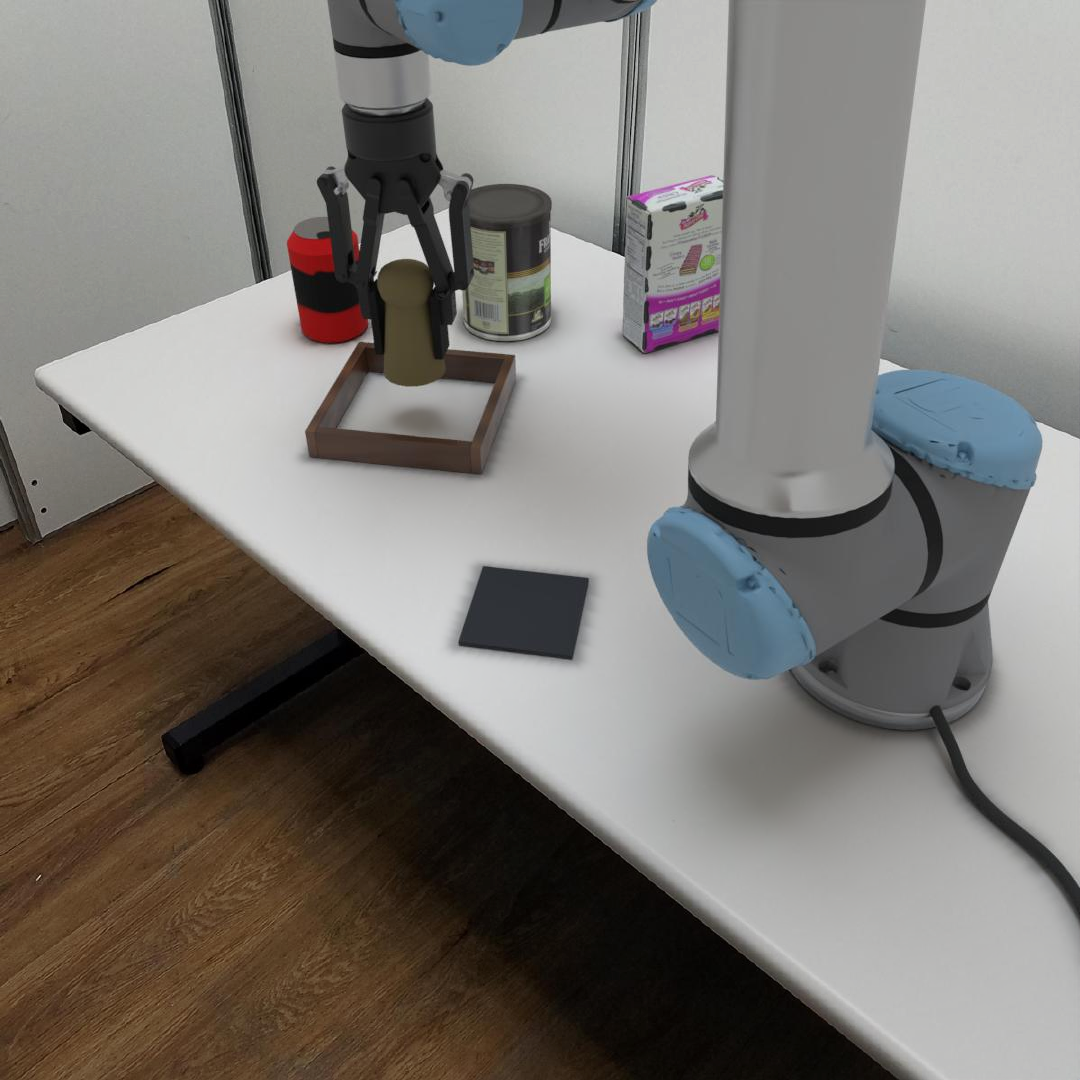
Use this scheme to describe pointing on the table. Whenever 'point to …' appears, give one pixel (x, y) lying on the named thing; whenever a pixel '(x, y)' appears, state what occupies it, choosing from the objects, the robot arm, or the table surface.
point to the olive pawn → (408, 324)
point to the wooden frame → (407, 448)
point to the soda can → (322, 285)
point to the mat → (525, 612)
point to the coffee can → (509, 263)
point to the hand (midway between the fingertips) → (412, 349)
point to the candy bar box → (672, 263)
